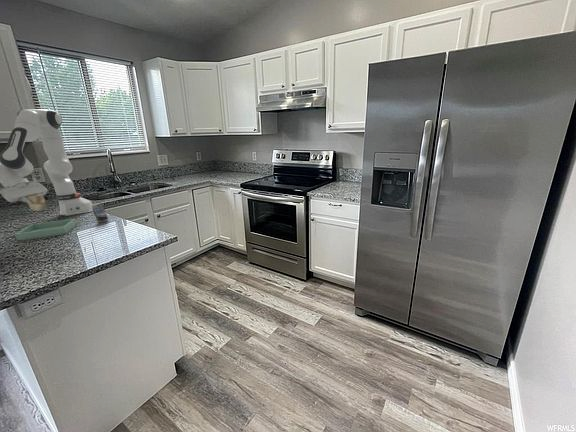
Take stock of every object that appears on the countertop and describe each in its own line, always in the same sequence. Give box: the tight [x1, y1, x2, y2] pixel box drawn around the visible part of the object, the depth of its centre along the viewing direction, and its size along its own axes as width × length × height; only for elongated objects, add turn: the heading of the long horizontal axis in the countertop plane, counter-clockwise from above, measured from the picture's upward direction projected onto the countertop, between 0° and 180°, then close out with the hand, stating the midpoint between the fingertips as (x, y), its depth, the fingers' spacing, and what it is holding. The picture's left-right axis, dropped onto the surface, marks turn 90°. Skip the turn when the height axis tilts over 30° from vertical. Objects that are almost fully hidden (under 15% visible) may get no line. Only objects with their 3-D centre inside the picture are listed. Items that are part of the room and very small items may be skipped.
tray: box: [14, 218, 78, 242], centre depth 155 cm, size 22×18×4 cm
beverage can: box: [92, 202, 108, 223], centre depth 169 cm, size 6×7×12 cm
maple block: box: [26, 195, 48, 211], centre depth 150 cm, size 5×5×8 cm
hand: (37, 201), depth 150 cm, fingers closed on maple block, 5 cm apart
